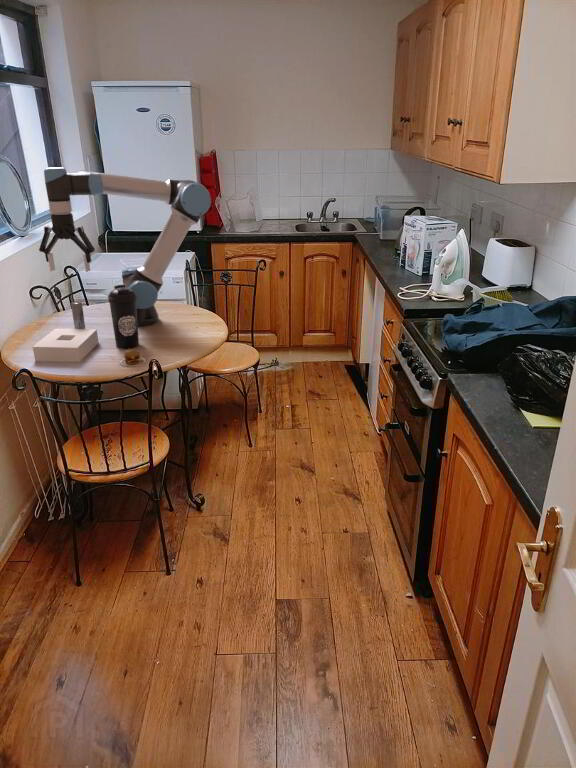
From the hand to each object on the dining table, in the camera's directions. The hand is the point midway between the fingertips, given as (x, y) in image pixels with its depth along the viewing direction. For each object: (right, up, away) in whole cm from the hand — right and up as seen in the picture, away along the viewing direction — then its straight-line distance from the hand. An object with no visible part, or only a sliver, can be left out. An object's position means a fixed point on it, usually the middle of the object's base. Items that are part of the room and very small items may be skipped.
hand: (70, 270), depth 212 cm
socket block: (+1, -31, -4) cm, 31 cm away
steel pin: (0, -24, +11) cm, 27 cm away
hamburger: (+27, -36, -12) cm, 47 cm away
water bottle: (+21, -28, +3) cm, 35 cm away
